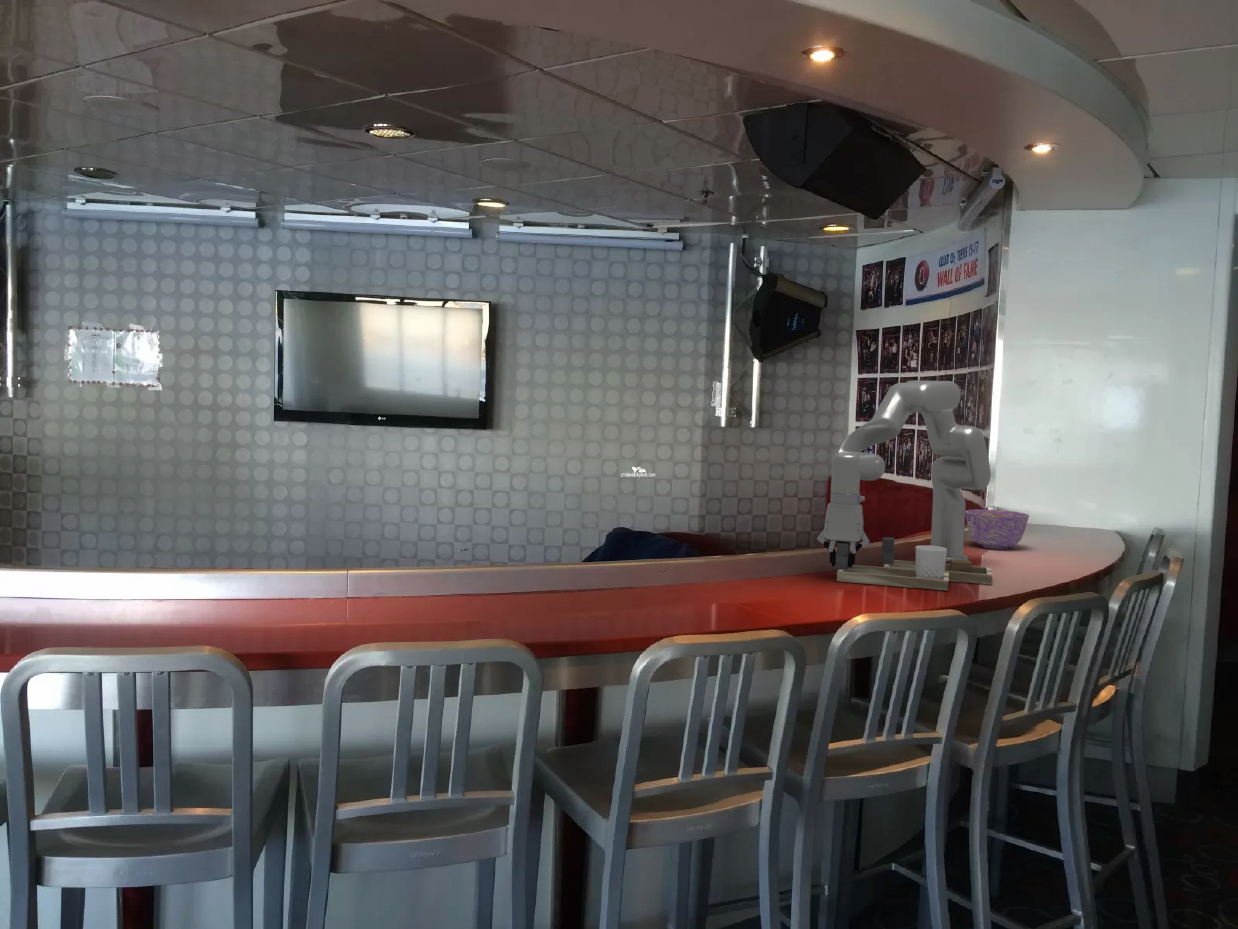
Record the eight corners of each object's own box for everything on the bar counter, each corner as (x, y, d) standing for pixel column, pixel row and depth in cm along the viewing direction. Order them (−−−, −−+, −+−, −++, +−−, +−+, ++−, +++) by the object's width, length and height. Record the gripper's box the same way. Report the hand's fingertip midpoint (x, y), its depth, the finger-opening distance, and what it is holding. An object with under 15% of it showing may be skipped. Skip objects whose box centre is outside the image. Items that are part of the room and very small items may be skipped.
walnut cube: (948, 576, 271) (949, 559, 270) (967, 577, 270) (968, 560, 270) (951, 580, 266) (952, 562, 265) (971, 581, 265) (971, 563, 265)
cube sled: (883, 567, 281) (884, 535, 280) (990, 576, 271) (992, 542, 271) (879, 575, 269) (881, 541, 268) (991, 584, 259) (993, 549, 258)
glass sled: (839, 572, 271) (840, 538, 271) (948, 581, 262) (950, 546, 261) (833, 580, 259) (834, 545, 258) (947, 590, 249) (949, 553, 249)
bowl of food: (954, 546, 325) (955, 512, 324) (976, 540, 340) (978, 508, 340) (1015, 554, 312) (1017, 518, 311) (1035, 547, 327) (1037, 513, 327)
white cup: (941, 583, 261) (943, 546, 260) (948, 589, 253) (950, 550, 252) (911, 581, 262) (913, 545, 261) (916, 587, 254) (918, 549, 253)
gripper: (877, 500, 264) (874, 566, 265) (815, 496, 269) (812, 562, 271) (875, 502, 257) (872, 571, 258) (811, 499, 262) (809, 566, 264)
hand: (842, 565), depth 264 cm, fingers open, 4 cm apart
